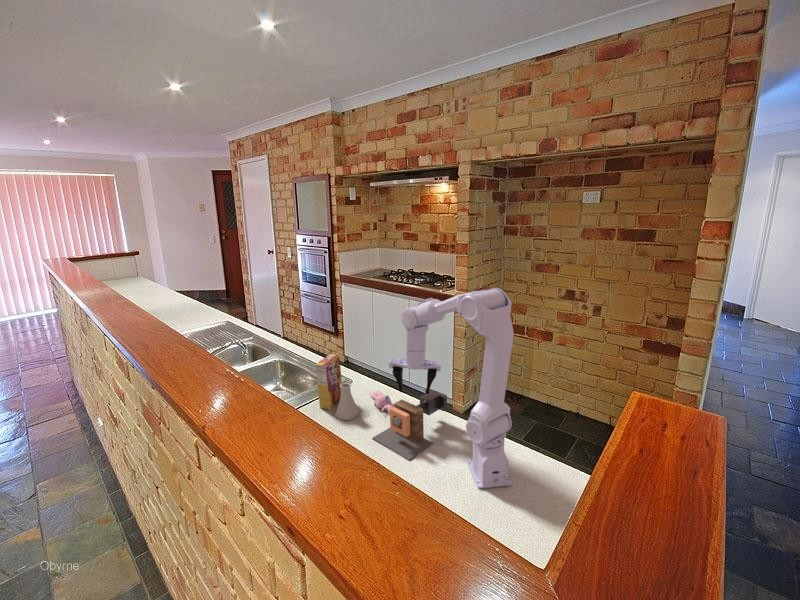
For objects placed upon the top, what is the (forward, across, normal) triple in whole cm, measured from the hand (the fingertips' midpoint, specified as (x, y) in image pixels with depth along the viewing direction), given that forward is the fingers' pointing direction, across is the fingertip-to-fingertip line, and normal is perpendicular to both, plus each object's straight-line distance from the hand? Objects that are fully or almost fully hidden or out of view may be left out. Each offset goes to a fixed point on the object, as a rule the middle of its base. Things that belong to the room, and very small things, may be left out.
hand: (414, 391), depth 113 cm
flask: (+12, +21, -3) cm, 24 cm away
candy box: (+12, +28, -10) cm, 32 cm away
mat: (+10, +2, +10) cm, 14 cm away
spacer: (+7, +3, +10) cm, 12 cm away
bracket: (+10, 0, +8) cm, 13 cm away
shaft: (+6, -1, +5) cm, 7 cm away
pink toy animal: (+12, +10, -7) cm, 17 cm away
